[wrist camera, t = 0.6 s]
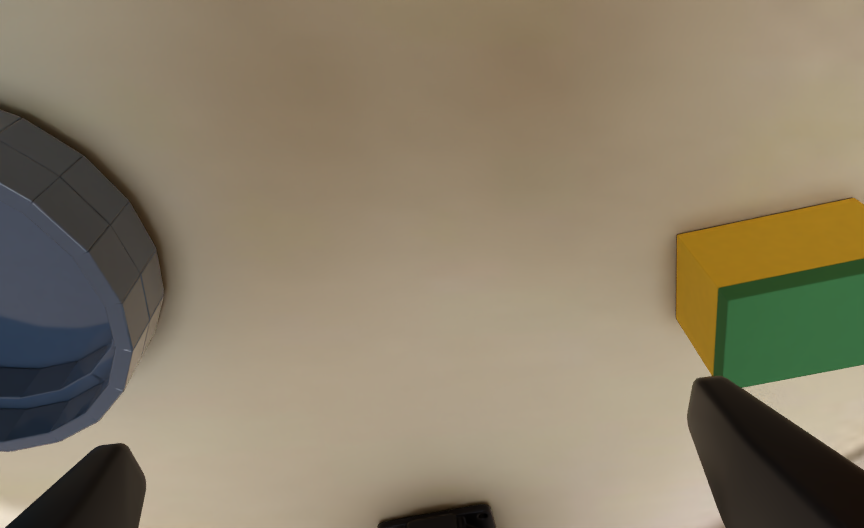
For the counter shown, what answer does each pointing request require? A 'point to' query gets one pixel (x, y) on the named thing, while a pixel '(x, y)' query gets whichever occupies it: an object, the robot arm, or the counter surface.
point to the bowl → (66, 289)
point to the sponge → (775, 293)
